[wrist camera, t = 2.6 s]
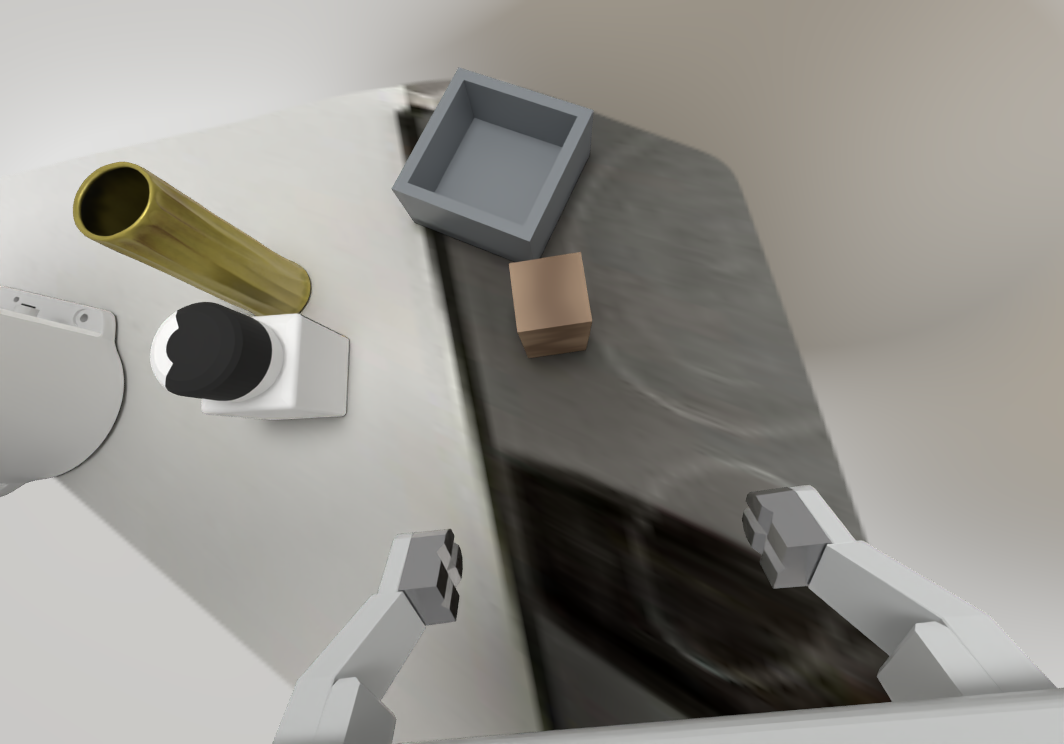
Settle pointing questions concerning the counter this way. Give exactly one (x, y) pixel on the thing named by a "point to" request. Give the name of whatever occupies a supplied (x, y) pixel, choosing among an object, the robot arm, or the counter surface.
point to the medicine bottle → (252, 363)
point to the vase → (186, 240)
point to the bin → (496, 165)
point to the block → (551, 304)
